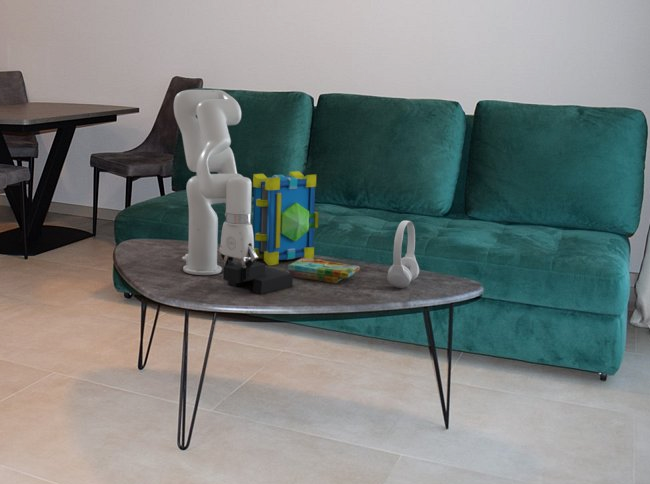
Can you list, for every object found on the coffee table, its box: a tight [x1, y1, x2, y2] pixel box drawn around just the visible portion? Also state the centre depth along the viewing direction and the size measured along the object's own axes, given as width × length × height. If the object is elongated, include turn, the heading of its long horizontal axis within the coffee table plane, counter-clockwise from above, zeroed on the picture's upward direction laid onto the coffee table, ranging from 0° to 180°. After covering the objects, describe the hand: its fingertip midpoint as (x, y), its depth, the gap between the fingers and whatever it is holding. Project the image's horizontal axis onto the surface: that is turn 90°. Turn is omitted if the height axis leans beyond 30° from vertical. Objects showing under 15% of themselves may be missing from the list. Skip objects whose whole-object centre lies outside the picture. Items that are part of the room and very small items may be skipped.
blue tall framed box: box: [252, 170, 320, 267], centre depth 285 cm, size 14×23×30 cm, turn 122°
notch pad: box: [227, 266, 294, 295], centre depth 251 cm, size 14×14×4 cm
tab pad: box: [222, 261, 267, 283], centre depth 246 cm, size 12×6×4 cm, turn 132°
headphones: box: [386, 220, 420, 289], centre depth 254 cm, size 7×18×20 cm, turn 151°
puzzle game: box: [287, 257, 361, 284], centre depth 262 cm, size 12×5×20 cm
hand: (237, 277), depth 244 cm, fingers closed on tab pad, 6 cm apart
